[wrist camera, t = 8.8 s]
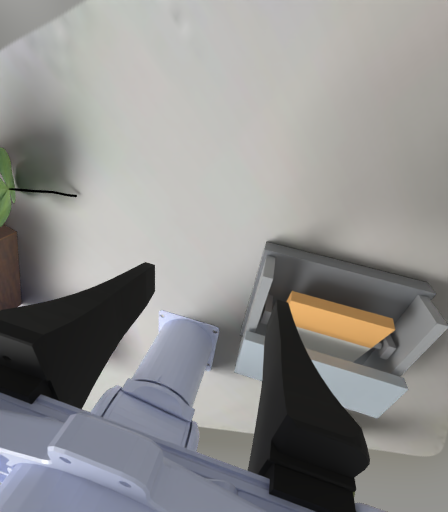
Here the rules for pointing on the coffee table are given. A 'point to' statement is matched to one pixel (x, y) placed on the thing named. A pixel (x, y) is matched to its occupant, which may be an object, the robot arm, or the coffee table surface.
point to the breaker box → (349, 301)
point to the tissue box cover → (9, 269)
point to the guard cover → (333, 378)
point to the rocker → (337, 327)
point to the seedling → (11, 187)
